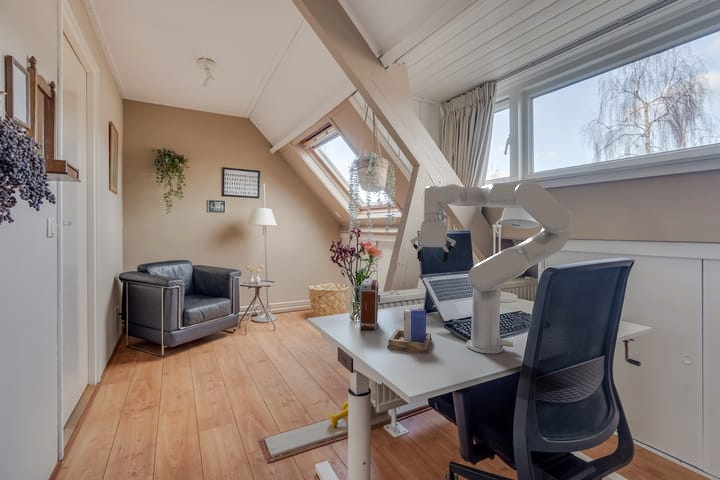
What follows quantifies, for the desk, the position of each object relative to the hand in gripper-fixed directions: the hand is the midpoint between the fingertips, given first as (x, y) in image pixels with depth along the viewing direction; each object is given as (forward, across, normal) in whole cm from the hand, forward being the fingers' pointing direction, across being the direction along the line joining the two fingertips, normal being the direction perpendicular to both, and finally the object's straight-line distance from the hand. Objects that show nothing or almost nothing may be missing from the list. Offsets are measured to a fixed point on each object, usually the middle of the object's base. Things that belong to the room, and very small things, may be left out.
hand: (432, 261), depth 132 cm
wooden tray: (+30, +6, +11) cm, 33 cm away
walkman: (+29, +4, +11) cm, 31 cm away
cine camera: (+31, +28, -8) cm, 42 cm away
